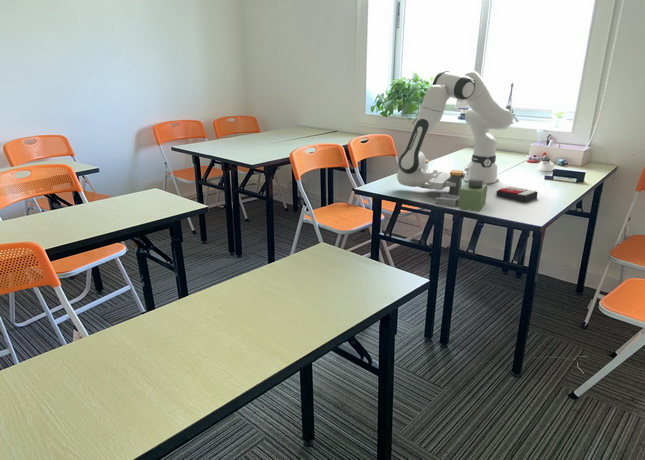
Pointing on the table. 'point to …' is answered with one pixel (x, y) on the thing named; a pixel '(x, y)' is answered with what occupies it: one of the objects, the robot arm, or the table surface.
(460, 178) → the grey orange-topped box
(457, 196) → the bracket
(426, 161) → the lidded jar
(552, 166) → the inkwell
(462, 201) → the green box
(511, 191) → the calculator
